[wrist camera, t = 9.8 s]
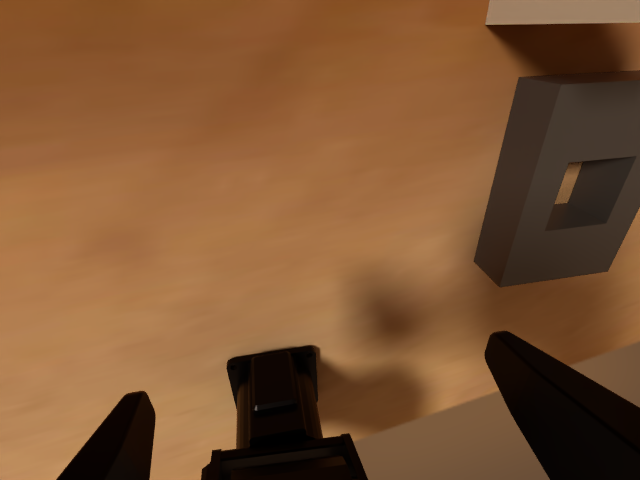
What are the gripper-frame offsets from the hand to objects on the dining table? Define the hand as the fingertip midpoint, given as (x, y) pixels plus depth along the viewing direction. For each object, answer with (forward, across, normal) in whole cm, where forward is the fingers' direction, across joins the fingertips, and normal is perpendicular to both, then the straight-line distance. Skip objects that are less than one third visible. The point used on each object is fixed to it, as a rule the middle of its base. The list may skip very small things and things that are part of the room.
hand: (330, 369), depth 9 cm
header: (+12, -17, +1) cm, 21 cm away
